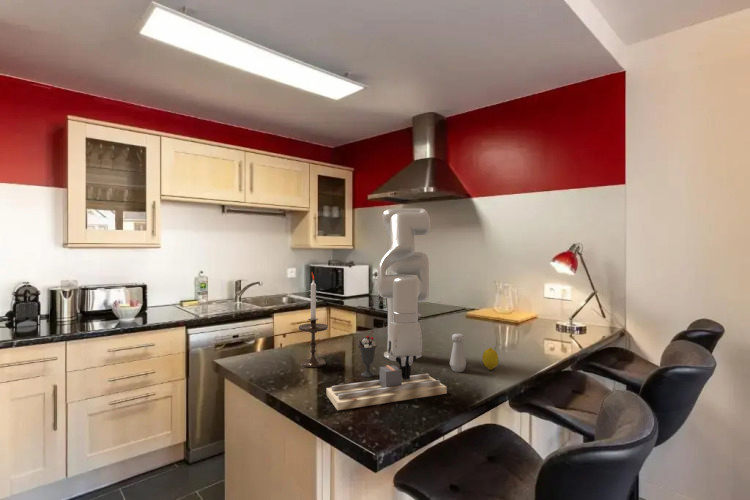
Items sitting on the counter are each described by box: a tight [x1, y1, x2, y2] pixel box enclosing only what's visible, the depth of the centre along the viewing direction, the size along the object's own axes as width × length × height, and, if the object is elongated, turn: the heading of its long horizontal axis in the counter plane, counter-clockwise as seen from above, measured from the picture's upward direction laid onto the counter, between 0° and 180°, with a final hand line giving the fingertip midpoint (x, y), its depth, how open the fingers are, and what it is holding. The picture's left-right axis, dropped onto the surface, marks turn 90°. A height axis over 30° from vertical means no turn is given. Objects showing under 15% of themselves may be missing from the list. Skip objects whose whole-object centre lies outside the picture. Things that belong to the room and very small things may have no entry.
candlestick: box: [298, 271, 329, 369], centre depth 145 cm, size 11×11×35 cm
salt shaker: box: [449, 333, 467, 373], centre depth 138 cm, size 6×6×13 cm
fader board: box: [325, 373, 448, 411], centre depth 115 cm, size 34×12×3 cm, turn 111°
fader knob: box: [379, 364, 402, 388], centre depth 116 cm, size 5×5×5 cm
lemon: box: [481, 347, 499, 371], centre depth 139 cm, size 6×6×8 cm
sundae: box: [358, 330, 378, 378], centre depth 133 cm, size 7×7×15 cm
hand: (405, 377), depth 117 cm, fingers closed
